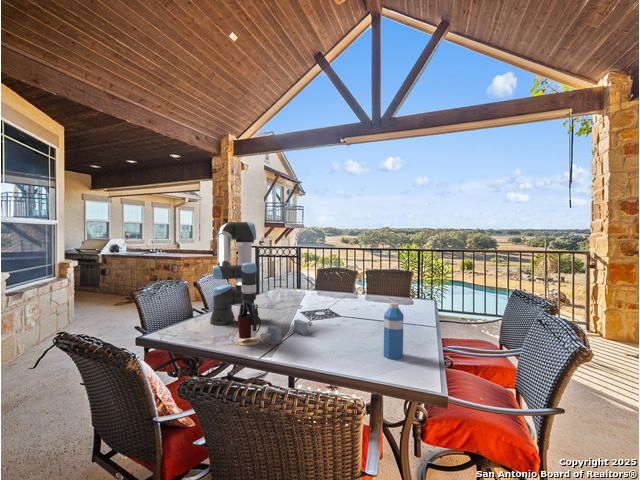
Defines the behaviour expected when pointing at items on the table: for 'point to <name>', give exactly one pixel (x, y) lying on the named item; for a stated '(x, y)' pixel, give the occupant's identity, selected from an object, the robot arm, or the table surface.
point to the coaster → (248, 341)
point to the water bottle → (393, 332)
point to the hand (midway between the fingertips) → (248, 334)
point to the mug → (245, 326)
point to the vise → (275, 332)
